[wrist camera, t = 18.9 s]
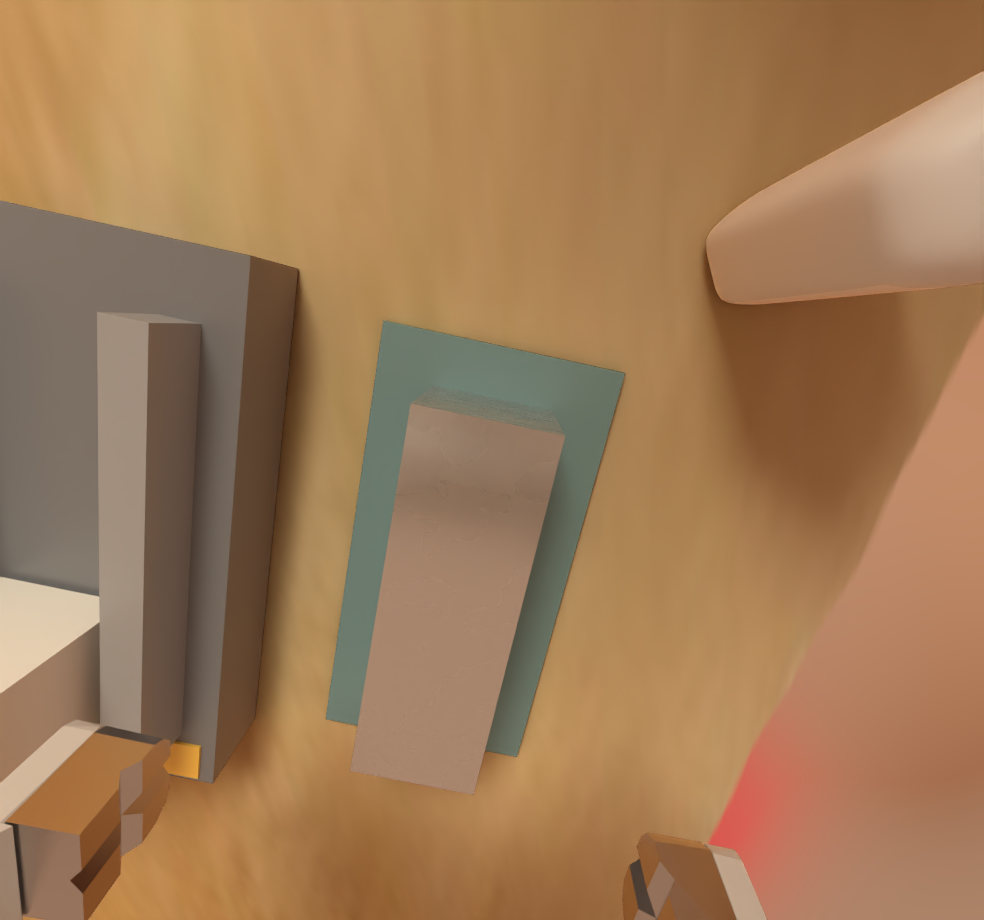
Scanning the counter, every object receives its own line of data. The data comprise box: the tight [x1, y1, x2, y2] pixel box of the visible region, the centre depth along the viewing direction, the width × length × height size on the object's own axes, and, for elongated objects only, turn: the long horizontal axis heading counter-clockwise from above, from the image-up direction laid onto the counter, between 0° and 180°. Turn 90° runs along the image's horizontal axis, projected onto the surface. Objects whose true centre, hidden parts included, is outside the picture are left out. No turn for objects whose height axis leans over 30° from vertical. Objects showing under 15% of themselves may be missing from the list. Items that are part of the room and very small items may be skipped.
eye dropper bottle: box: [706, 71, 984, 305], centre depth 9 cm, size 4×6×12 cm
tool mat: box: [326, 321, 625, 757], centre depth 18 cm, size 16×8×1 cm, turn 168°
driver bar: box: [350, 385, 565, 795], centre depth 16 cm, size 12×4×4 cm, turn 168°
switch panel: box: [0, 201, 298, 784], centre depth 15 cm, size 18×10×5 cm, turn 168°
